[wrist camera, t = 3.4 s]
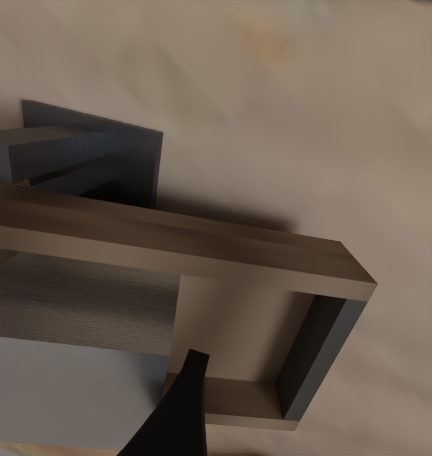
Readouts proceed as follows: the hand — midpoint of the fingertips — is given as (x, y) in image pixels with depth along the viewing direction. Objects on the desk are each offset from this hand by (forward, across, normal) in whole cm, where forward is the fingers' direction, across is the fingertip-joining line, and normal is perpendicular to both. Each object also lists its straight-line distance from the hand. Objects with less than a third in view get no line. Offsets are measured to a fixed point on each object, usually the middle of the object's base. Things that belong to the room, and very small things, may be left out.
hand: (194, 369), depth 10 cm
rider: (+2, +4, 0) cm, 4 cm away
